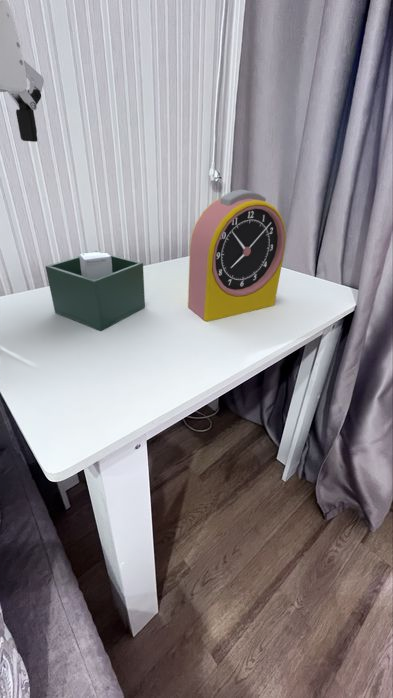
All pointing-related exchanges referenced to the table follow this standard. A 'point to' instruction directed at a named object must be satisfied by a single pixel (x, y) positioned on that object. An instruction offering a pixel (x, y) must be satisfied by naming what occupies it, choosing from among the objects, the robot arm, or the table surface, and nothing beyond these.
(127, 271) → the bin
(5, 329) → the table surface
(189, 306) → the alarm clock
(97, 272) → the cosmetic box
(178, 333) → the table surface
